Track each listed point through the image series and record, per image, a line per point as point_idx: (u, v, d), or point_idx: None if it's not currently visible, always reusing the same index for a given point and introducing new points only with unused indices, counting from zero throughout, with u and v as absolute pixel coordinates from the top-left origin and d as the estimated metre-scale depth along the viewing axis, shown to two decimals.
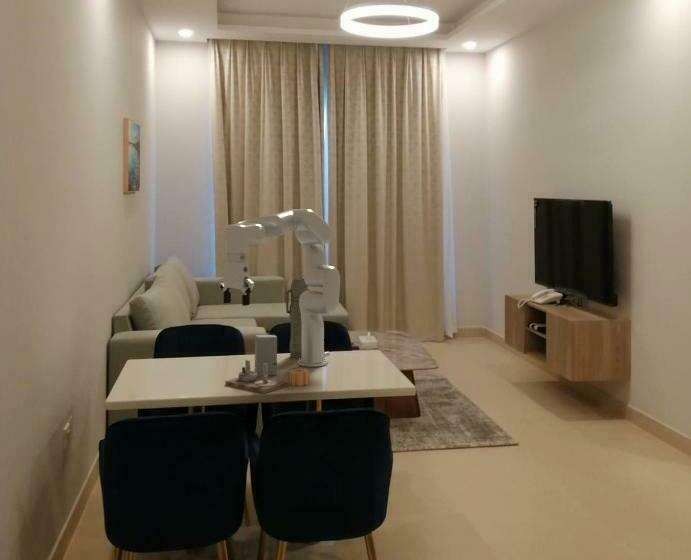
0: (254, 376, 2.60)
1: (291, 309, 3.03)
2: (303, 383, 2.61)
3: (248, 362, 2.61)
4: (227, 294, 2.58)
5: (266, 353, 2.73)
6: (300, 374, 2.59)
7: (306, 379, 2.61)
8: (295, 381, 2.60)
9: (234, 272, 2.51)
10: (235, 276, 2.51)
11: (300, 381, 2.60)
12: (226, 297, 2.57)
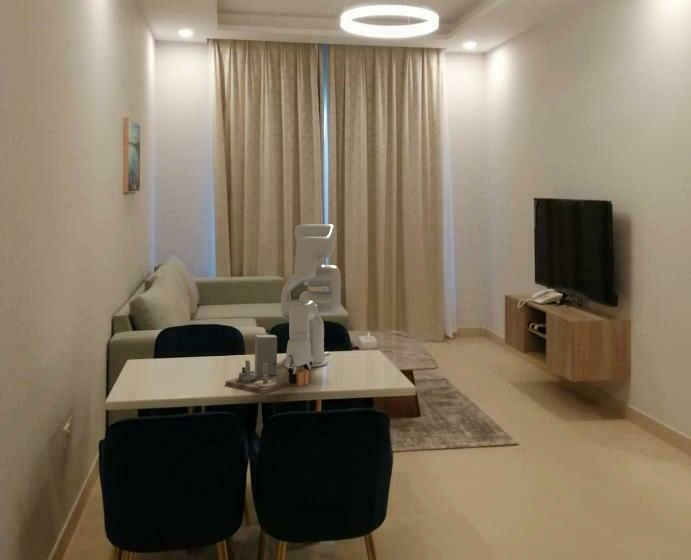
0: (254, 376, 2.60)
1: None
2: (303, 383, 2.61)
3: (248, 362, 2.61)
4: None
5: (266, 353, 2.73)
6: (300, 374, 2.59)
7: (306, 379, 2.61)
8: None
9: (307, 348, 2.62)
10: (307, 352, 2.62)
11: (300, 381, 2.60)
12: None
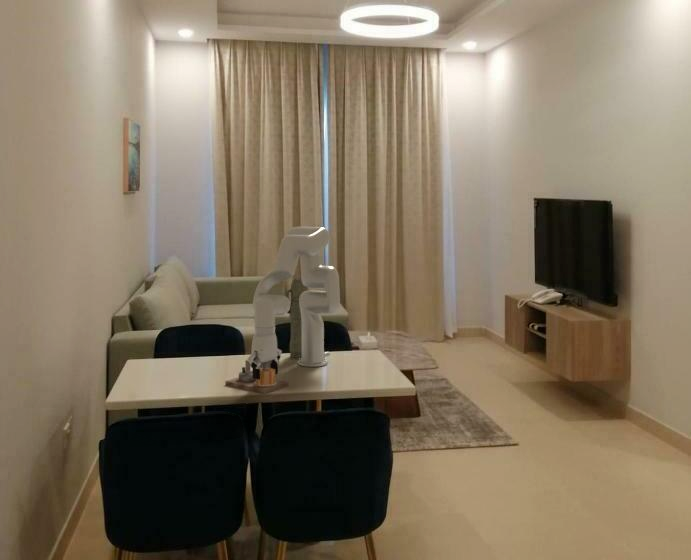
0: None
1: (291, 309, 3.03)
2: (269, 383, 2.55)
3: (248, 362, 2.61)
4: None
5: None
6: (266, 373, 2.53)
7: (272, 378, 2.55)
8: (261, 381, 2.54)
9: (272, 344, 2.56)
10: (273, 348, 2.56)
11: (266, 381, 2.54)
12: None
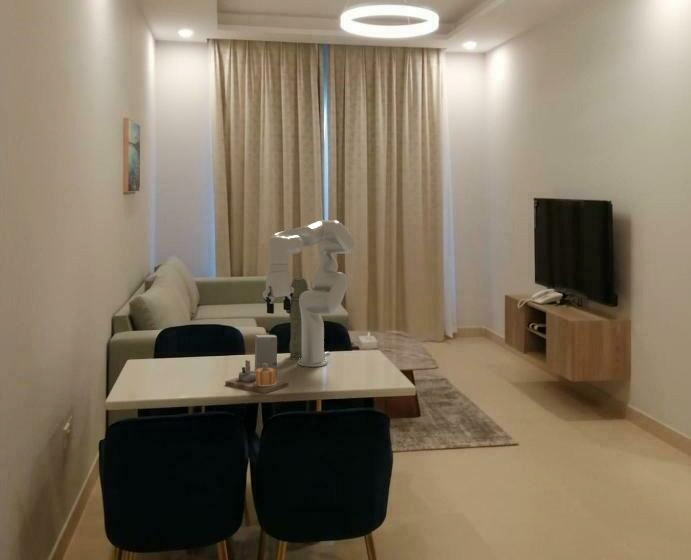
0: (254, 376, 2.60)
1: (291, 309, 3.03)
2: (269, 383, 2.55)
3: (248, 362, 2.61)
4: None
5: (266, 353, 2.73)
6: (266, 373, 2.53)
7: (272, 378, 2.55)
8: (261, 381, 2.54)
9: (286, 281, 2.68)
10: (286, 284, 2.68)
11: (266, 381, 2.54)
12: None
